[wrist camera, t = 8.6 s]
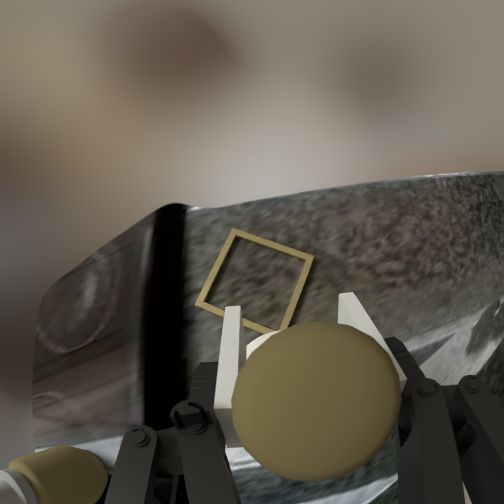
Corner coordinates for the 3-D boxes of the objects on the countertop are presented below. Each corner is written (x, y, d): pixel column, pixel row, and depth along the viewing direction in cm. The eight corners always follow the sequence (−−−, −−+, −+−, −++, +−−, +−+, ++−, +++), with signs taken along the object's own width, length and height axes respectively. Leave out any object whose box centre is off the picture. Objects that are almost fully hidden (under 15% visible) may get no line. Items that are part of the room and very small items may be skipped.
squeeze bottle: (125, 469, 23) (19, 514, 6) (105, 506, 20) (12, 551, 3) (76, 428, 25) (-38, 434, 8) (60, 467, 22) (-41, 483, 5)
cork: (226, 374, 17) (163, 371, 7) (307, 324, 18) (353, 253, 8) (277, 450, 14) (286, 540, 4) (358, 397, 15) (461, 412, 5)
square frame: (313, 258, 32) (314, 256, 32) (281, 341, 28) (282, 340, 28) (233, 230, 34) (232, 228, 34) (196, 306, 31) (194, 304, 30)
